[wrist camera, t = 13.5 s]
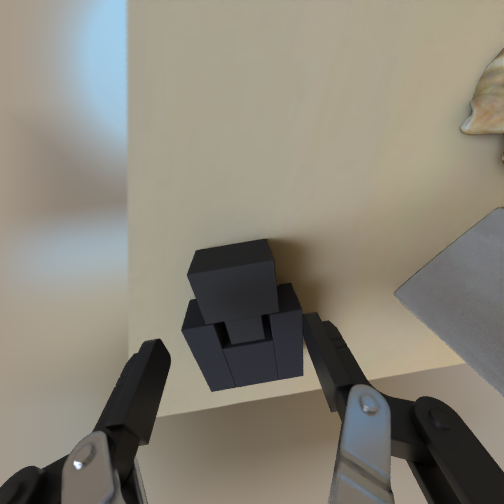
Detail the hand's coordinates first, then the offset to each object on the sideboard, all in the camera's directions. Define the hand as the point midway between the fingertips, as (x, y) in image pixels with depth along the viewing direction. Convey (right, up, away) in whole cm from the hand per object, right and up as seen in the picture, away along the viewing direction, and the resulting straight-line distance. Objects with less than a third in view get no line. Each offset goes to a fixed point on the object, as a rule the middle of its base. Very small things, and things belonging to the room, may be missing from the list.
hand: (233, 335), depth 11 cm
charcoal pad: (+1, -3, +10) cm, 11 cm away
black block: (0, +2, +7) cm, 7 cm away
